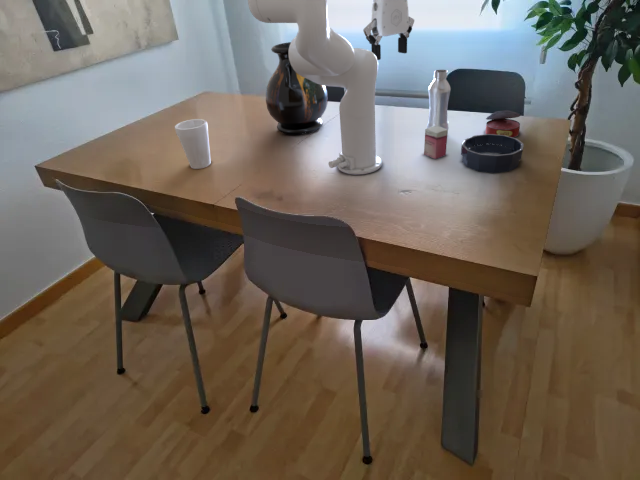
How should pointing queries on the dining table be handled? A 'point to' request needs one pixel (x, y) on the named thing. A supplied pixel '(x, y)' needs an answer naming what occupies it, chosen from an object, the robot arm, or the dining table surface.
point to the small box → (435, 142)
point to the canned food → (503, 123)
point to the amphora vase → (294, 97)
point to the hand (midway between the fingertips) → (389, 55)
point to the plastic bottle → (439, 100)
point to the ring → (491, 143)
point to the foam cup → (195, 142)
